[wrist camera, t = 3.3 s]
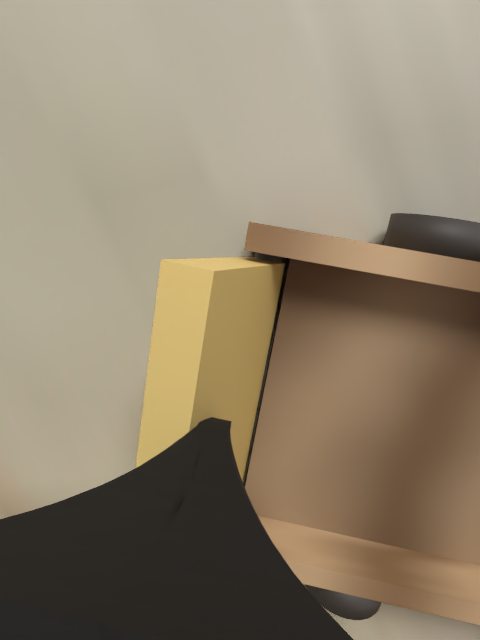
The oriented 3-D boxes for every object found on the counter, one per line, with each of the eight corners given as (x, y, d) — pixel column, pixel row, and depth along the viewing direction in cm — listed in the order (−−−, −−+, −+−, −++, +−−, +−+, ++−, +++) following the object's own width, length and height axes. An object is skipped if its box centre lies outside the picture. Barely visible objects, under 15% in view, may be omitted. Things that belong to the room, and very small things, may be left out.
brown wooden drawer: (702, 270, 13) (962, 292, 8) (556, 600, 16) (677, 762, 11) (261, 195, 14) (249, 174, 9) (204, 520, 17) (172, 636, 12)
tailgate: (290, 257, 14) (215, 260, 8) (242, 497, 16) (155, 647, 10) (258, 251, 14) (162, 249, 8) (215, 486, 16) (116, 624, 10)
